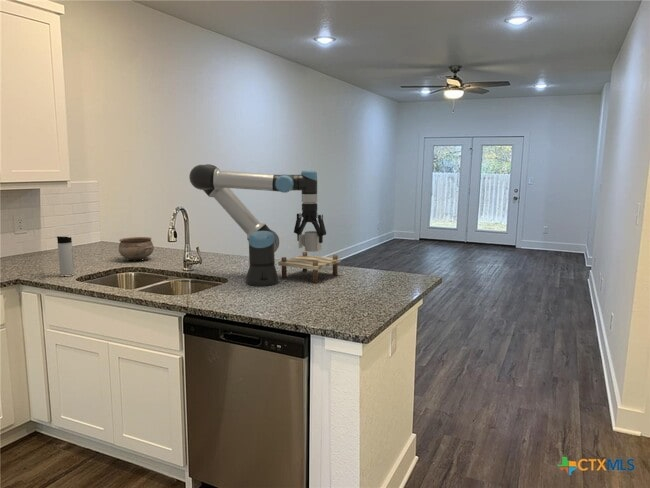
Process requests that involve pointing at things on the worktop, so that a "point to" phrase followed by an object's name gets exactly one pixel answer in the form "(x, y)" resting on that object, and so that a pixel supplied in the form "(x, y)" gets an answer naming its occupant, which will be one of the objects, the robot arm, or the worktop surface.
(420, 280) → the worktop surface
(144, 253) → the cooking pot
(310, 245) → the cup
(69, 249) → the travel mug
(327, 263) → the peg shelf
